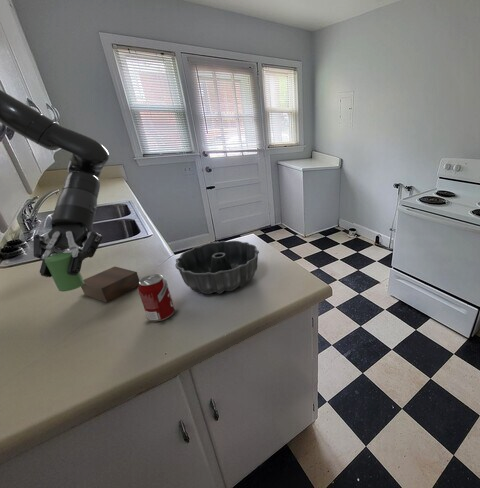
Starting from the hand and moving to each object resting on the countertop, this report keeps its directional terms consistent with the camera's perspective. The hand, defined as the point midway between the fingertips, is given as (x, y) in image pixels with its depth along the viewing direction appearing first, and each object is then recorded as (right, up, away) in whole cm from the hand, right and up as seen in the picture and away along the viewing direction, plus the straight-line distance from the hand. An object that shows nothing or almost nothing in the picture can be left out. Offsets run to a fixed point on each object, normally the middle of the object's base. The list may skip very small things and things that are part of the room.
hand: (59, 275), depth 62 cm
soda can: (+15, -13, +15) cm, 25 cm away
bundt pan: (+26, -6, +33) cm, 42 cm away
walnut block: (-9, -8, +27) cm, 30 cm away
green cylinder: (0, -3, +3) cm, 5 cm away
